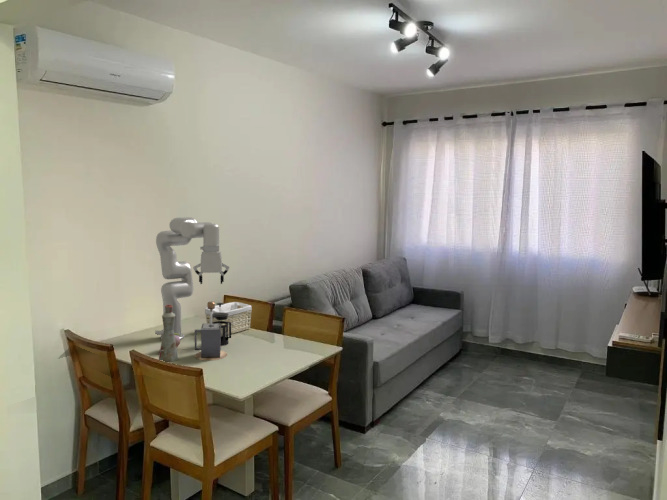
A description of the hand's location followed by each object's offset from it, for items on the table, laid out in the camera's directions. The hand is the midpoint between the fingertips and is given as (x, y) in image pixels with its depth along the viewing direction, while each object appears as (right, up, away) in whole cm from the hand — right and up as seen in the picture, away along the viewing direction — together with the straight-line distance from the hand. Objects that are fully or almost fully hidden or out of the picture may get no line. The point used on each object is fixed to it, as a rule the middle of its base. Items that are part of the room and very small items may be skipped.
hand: (211, 283), depth 249 cm
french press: (-1, -35, +24) cm, 42 cm away
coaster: (-1, -37, +5) cm, 37 cm away
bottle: (-20, -38, -3) cm, 43 cm away
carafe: (-3, -36, +4) cm, 37 cm away
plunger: (-1, -29, +4) cm, 29 cm away
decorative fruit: (-24, -36, +12) cm, 44 cm away
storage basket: (-2, -32, +51) cm, 60 cm away
